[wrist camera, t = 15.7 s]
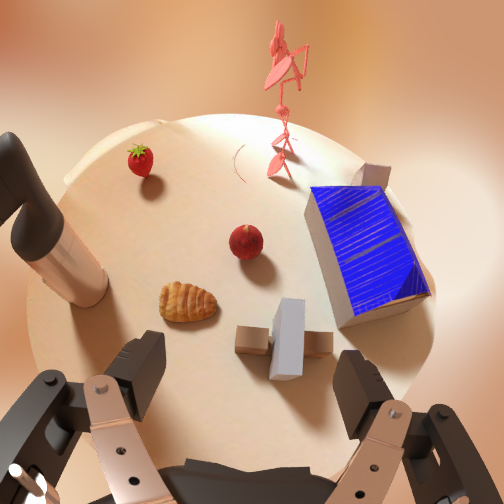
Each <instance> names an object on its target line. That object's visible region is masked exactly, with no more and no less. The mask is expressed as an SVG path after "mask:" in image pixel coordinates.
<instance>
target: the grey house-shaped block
mask: <svg viewBox="0 0 504 504" xmlns="http://www.w3.org/2000/svg"><path fill="white" fill-rule="evenodd" d="M390 171H391V167H390V166H385V165H378V164H371V163H365V164H364V165H363V166H362V167H361V168H360V169H359V170H358V171H357V172H356V175H355V177H354V179H353V182H352V184H351V186H381V187H382V189H383V191H385V189H386V187H387V185H388V180H389V175H390Z"/></svg>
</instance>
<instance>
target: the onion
mask: <svg viewBox="0 0 504 504" xmlns="http://www.w3.org/2000/svg"><path fill="white" fill-rule="evenodd" d="M229 245H230V249H231V251H232V252H233V254H234V255H235V256H237V257H238V258H240V259H243V260H251V259H253V258H255V257H257V256H258V255H259V254H260V252H261V251H262V249H263V238H262V234H261V232H260V231H259V230H258V229H257V228H255V227H254V226H252V225H242V226H240V227H238V228H236V229H235V230H234V231H233V232H232V234H231V236H230V239H229Z"/></svg>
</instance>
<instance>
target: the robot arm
mask: <svg viewBox="0 0 504 504" xmlns="http://www.w3.org/2000/svg"><path fill="white" fill-rule="evenodd" d="M22 204H23V205H22ZM21 205H22V208H21V210H20V212H19V214H18V216H17V218H16V220H15V222H14V224H13V227H12V231H11V244H12V247H13V249H14V251H15V252H16V253H17V254H18V255H19V256H20V257H21V258H22V259H23V260H24V261H25V262H26V263H27V264H28V265H30V267H31V268H33V269H34V270H35V271H36V272H37V273H38V274H39V275H40V276H42V277H43V282H44V283H45V284H46V285H47V286H48V287H50V288H51V289H52V290H53V291H54V292H56V293H57V294H58V295H59V296H61V297H62V298H63V299H65V300H66V301H67V302H68V303H74V304H76V305H77V306H79V307H83V308H87V307H91V306H93V305H95V304H97V303H98V302H99V301H100V300H101V299H102V297H103V296H104V294H105V292H106V290H107V286H108V276H107V273H106V271H105V270H104V268H103V267H102V266H101V265H100V263H99V262H98V261H97V260H96V258H95V257H94V256H93V255H92V253H91V252H90V251H89V250H88V248H87V247H86V246H85V244H84V243H83V242H82V240H81V239H80V238H79V236H78V235H77V234H76V232H75V231H74V230H73V228H72V227H71V226H70V224H69V223H68V221H67V220H66V219H65V217H64V216H63V214H62V213H61V211H60V210H59V208H58V207H57V206H56V204H55V203H54V202H53V200H52V199H51V197H50V195H49V194H48V192H47V191H46V189H45V187H44V185H43V184H42V182H41V180H40V178H39V176H38V174H37V172H36V170H35V168H34V166H33V164H32V162H31V160H30V157H29V155H28V153H27V151H26V149H25V147H24V146H23V144H22V142H21V141H20V139H19V138H18V137H17V136H16V135H15V134H14V133H12V132H6V133H4V134H2V135H1V136H0V226H1V225H2V224H4V222H5V221H6V220H7V219H8V218H9V217H10V216H11V215H12V214H13V213H14V212H15V211H16V210H17V209H18V208H19V207H20V206H21ZM165 368H166V351H165V337H164V333H161V332H155V331H150V330H147V331H146V332H145V333H144V335H143V336H142V338H141V339H136V338H135V339H133V340H132V341H130V342H128V343H127V344H126V345H125V346H124V348H123V349H122V351H121V352H120V353H119V354H118V357H116V358H115V359H114V361H113V362H112V363H111V365H110V366H109V367H108V369H107V370H106V371H105V373H104V374H103V375H95V376H92V377H90V378H88V379H87V380H86V381H85V383H74V382H67V381H66V378H65V376H64V374H63V373H62V372H60V371H58V370H46V371H43V372H41V373H40V374H39V375H38V376H37V377H36V378H35V379H34V381H33V382H32V383H31V384H30V385H29V386H28V388H27V389H26V390H25V391H24V392H23V394H22V395H21V396H20V397H19V398H18V400H17V401H16V402H15V403H14V405H13V406H12V407H11V408H10V410H9V411H8V412H7V413H6V415H5V416H4V417H3V419H2V420H1V421H0V504H60V498H59V495H58V493H57V491H56V490H55V487H56V485H57V483H58V481H59V478H60V476H61V474H62V472H63V470H64V468H65V466H66V464H67V462H68V459H69V458H70V455H71V454H72V452H73V449H74V448H75V446H76V444H77V442H78V440H79V438H80V436H81V434H82V432H89V433H91V434H92V437H93V441H94V444H95V448H96V451H97V454H98V457H99V460H100V463H101V466H102V469H103V472H104V475H105V477H106V480H107V483H108V485H109V488H110V490H111V494H109V495H107V496H105V497H103V498H100V499H98V500H96V501H93V502H91V503H89V504H382V502H383V500H384V498H385V495H386V494H387V492H388V489H389V487H390V485H391V483H392V480H393V478H394V476H395V474H396V471H397V469H398V466H399V464H400V461H401V459H402V462H403V465H404V468H405V471H406V474H407V476H408V480H409V483H410V486H411V489H412V493H413V496H414V499H415V502H416V504H503V502H502V499H501V497H500V495H499V493H498V490H497V488H496V486H495V484H494V482H493V480H492V478H491V476H490V474H489V472H488V470H487V468H486V466H485V464H484V462H483V460H482V458H481V457H480V455H479V453H478V451H477V449H476V447H475V446H474V444H473V442H472V440H471V439H470V437H469V435H468V433H467V432H466V430H465V428H464V427H463V425H462V423H461V422H460V420H459V418H458V417H457V416H456V414H455V412H454V411H453V409H452V408H450V407H449V406H447V405H444V404H435V405H433V406H432V407H431V408H430V409H429V411H428V412H427V413H419V412H412V411H411V409H410V407H409V406H408V405H407V404H406V403H404V402H402V401H399V400H395V399H394V398H393V396H392V394H391V392H390V390H389V389H388V387H387V385H386V383H385V381H383V378H382V376H381V375H380V373H379V371H378V369H377V367H376V366H375V365H374V364H372V363H371V362H370V361H369V360H365V359H364V358H363V356H362V354H361V352H360V351H359V350H343V351H342V352H341V355H340V358H339V361H338V364H337V367H336V371H335V374H334V377H333V389H334V392H335V395H336V398H337V402H338V405H339V408H340V411H341V414H342V417H343V421H344V424H345V427H346V430H347V434H348V437H349V440H352V439H359V441H360V443H359V445H358V447H357V448H356V450H355V452H354V453H353V455H352V457H351V458H350V460H349V462H348V463H347V465H346V466H345V468H344V469H343V471H342V473H341V474H340V476H339V477H338V478H337V480H336V481H335V482H333V481H331V480H329V479H327V478H324V477H321V476H317V475H312V474H311V473H310V467H280V468H274V469H269V470H263V471H256V472H244V471H240V470H237V469H233V468H230V467H227V466H224V465H221V464H218V463H212V462H205V461H199V460H193V459H188V458H186V461H185V465H184V466H172V467H166V468H163V469H159V470H157V469H156V468H155V466H154V464H153V462H152V460H151V458H150V456H149V454H148V452H147V450H146V448H145V446H144V444H143V442H142V440H141V438H140V435H139V433H138V431H137V429H136V426H135V424H134V422H133V420H136V421H139V422H142V420H143V417H144V415H145V413H146V411H147V409H148V407H149V404H150V402H151V400H152V398H153V396H154V394H155V391H156V389H157V387H158V385H159V383H160V381H161V379H162V377H163V374H164V372H165ZM434 448H435V449H436V451H437V453H438V456H439V458H440V466H439V465H438V463H437V460H436V458H435V456H434V454H433V450H434Z"/></svg>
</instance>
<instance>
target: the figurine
mask: <svg viewBox="0 0 504 504" xmlns="http://www.w3.org/2000/svg"><path fill="white" fill-rule="evenodd" d="M283 39H284V26H283V24H281V23H280V22H279V20H278V21H277V22H276V28H275V37H274V39H273V40H272V41H271V43H270V53H271V56H272V57H274V58H273V66H272V71H271V72H270V74H269V76H268V78H267V80H266V83H265V88H264V90H267V89H269V88H270V87H272V86H273V85H275V84H276V83H277V82H278V81H280V80H281V78H282V77H284V76H285V74H286V73H287V72H288V70H289V69H290V67H291V64H292V67H293V70H294V74H295V78H291V79H288V80H284V81H282V83H280V105H279V106H278V107H277V108H276V113H277V114H278V115H279V116H280V117H281V119H282V122H283V124H284V126H285V130H284V133H283V134H281V135H280V136H279V137H278V138H276V139H275V140H274V141H273V142H272V143H271V145H276V144H278V143H279V142H281V141H282V140H283V139H284V138H285V139H286V140H285V143H284V146H283V149H282V151H281V153H278V154H277V155H276V156H274V158H273V159H272V160H271V162H270V165H269V168H268V172H267V176H270V175H273V174H275V173H277V172H278V171H279V170H280V169H281V167H282V166H283V165H284V167H285V169H286V171H287V173H288V175H289V176H291V174H290V172H289V170H288V168H287V165H286V163H285V161H284V160H285V154H284V153H283V151H284V148H285V145H286V143H288V145H289V148H290V150H291V152H292V153H294V152H293V149H292V147H291V145H290V142H289V140H288V138H289V132H288V130H287V127H286V126H287V121H288V116H289V109H288V107H287V106H285V105H282V95H283V83H286V82H289V81H292V80H295V79H296V82H297V86H298V90H299V91H300V90H301V84H300V79H302V78H303V77H304V76H305V74H306V66H307V57H308V48H309V45H308V44H307V45H306V46H303V47H300V48H299V49H297V50H295V51H293V52H292V53H289V51H288V49H287V44H286V42H285V41H284V40H283ZM305 49H306V54H305V63H304V72H303V75H302V74H300V73H299V70H298V68H297V66H296V65H295V62H294V56H295V55H296V54H299V53H300V52H302V51H303V50H305ZM286 54H287V55H288V56H287V57H286V58H285V59H283V58H284V57H285V56H286ZM282 59H283V60H282ZM286 115H287V119H286V124H285V122H284V120H283V118H282V117H284V116H286ZM286 131H287V132H286ZM292 139H293V138H292ZM295 140H296V139H295ZM237 152H238V151H237ZM235 170H236V169H235ZM236 172H237V171H236ZM237 174H238V173H237ZM240 178H241V177H240ZM241 179H242V178H241ZM242 180H243V179H242ZM243 181H244V180H243ZM244 182H245V181H244Z"/></svg>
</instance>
